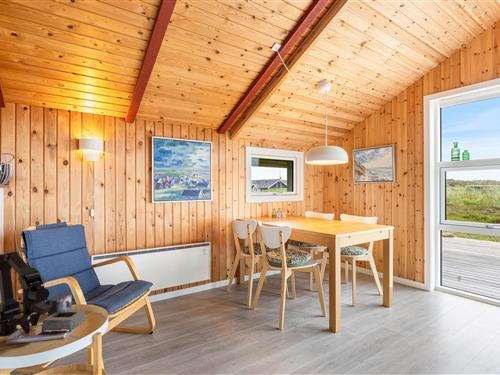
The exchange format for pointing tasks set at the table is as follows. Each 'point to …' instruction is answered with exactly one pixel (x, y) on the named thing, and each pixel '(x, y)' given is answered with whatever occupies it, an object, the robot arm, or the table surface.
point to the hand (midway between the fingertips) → (30, 331)
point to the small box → (60, 303)
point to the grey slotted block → (64, 320)
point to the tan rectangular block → (32, 331)
